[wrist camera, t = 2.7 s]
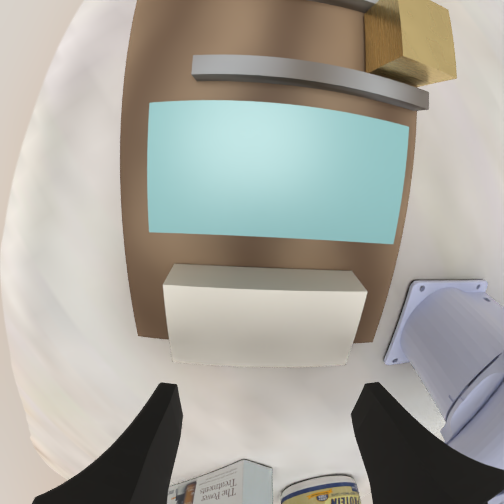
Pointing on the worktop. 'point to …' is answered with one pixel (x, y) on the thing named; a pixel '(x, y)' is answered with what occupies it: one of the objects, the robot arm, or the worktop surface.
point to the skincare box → (227, 486)
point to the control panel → (259, 90)
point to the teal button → (273, 171)
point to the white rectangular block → (261, 316)
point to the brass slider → (409, 42)
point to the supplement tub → (323, 491)
